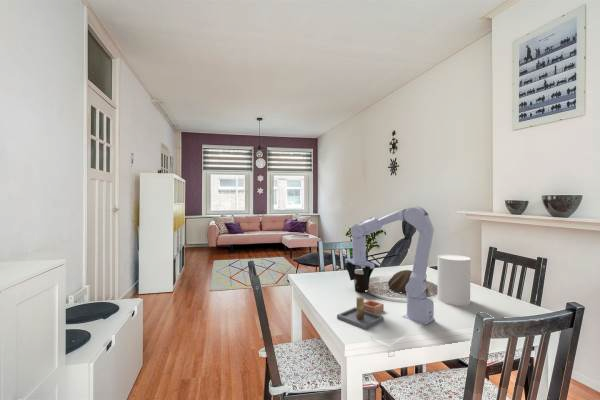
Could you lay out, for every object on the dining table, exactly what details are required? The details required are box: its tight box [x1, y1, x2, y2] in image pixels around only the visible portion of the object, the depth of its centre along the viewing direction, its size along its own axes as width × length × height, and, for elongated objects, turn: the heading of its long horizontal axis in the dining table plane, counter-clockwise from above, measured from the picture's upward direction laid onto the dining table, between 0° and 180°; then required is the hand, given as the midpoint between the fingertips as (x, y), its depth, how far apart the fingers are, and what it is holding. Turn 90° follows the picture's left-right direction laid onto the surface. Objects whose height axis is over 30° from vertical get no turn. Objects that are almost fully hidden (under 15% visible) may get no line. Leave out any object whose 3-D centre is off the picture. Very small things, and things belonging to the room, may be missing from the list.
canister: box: [436, 253, 472, 307], centre depth 138 cm, size 14×14×20 cm
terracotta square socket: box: [364, 299, 384, 315], centre depth 126 cm, size 7×7×3 cm
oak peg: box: [356, 296, 365, 320], centre depth 117 cm, size 3×3×8 cm
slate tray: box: [336, 306, 385, 330], centre depth 117 cm, size 14×12×2 cm
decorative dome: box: [387, 269, 429, 294], centre depth 155 cm, size 19×20×10 cm
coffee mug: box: [353, 269, 371, 294], centre depth 152 cm, size 12×9×10 cm
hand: (359, 281), depth 133 cm, fingers open, 7 cm apart
